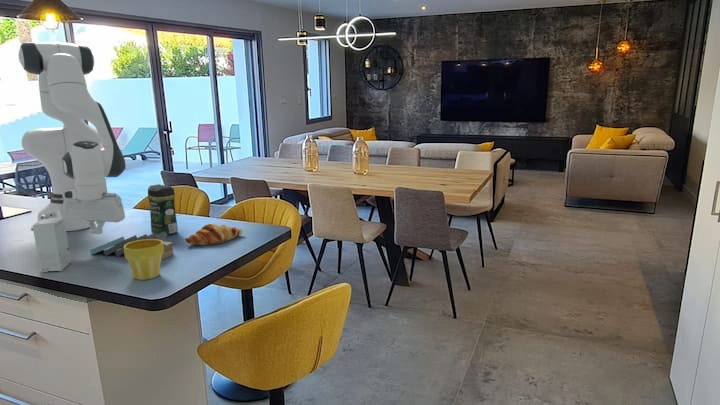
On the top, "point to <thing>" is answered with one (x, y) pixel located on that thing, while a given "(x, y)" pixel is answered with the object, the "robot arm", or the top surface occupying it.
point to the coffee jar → (162, 209)
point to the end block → (167, 250)
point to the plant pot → (144, 257)
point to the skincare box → (51, 244)
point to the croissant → (214, 234)
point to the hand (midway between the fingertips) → (97, 233)
